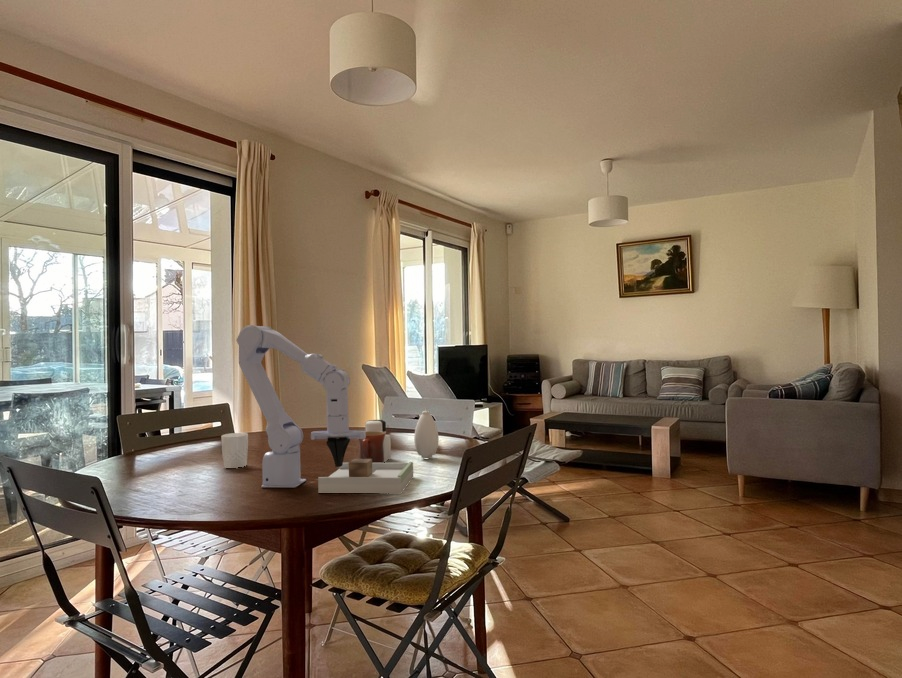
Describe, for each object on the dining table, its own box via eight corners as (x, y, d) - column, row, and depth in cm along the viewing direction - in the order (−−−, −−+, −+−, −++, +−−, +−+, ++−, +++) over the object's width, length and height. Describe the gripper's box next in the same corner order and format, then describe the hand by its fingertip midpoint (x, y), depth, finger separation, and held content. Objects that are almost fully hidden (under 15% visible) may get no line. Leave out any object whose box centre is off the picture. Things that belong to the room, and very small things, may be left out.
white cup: (242, 469, 172) (241, 436, 173) (217, 469, 173) (216, 437, 173) (252, 463, 180) (252, 432, 180) (228, 464, 181) (227, 433, 181)
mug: (362, 464, 176) (361, 431, 176) (389, 464, 175) (388, 431, 175) (350, 472, 164) (349, 437, 164) (379, 473, 163) (378, 437, 163)
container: (368, 458, 185) (367, 418, 185) (391, 458, 184) (390, 418, 184) (360, 463, 178) (360, 422, 178) (384, 463, 176) (383, 422, 176)
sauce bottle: (437, 461, 178) (436, 404, 178) (412, 461, 179) (411, 404, 179) (440, 456, 185) (439, 401, 186) (416, 456, 186) (415, 402, 186)
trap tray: (318, 493, 142) (318, 476, 142) (340, 476, 159) (339, 461, 160) (400, 494, 139) (400, 476, 139) (413, 476, 157) (412, 461, 157)
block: (348, 477, 147) (348, 462, 147) (354, 473, 152) (354, 458, 152) (367, 478, 147) (367, 462, 147) (372, 473, 152) (372, 458, 152)
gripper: (306, 417, 147) (307, 469, 147) (360, 416, 146) (361, 469, 146) (315, 414, 154) (316, 463, 154) (367, 413, 153) (368, 463, 153)
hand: (339, 466), depth 150 cm, fingers closed
